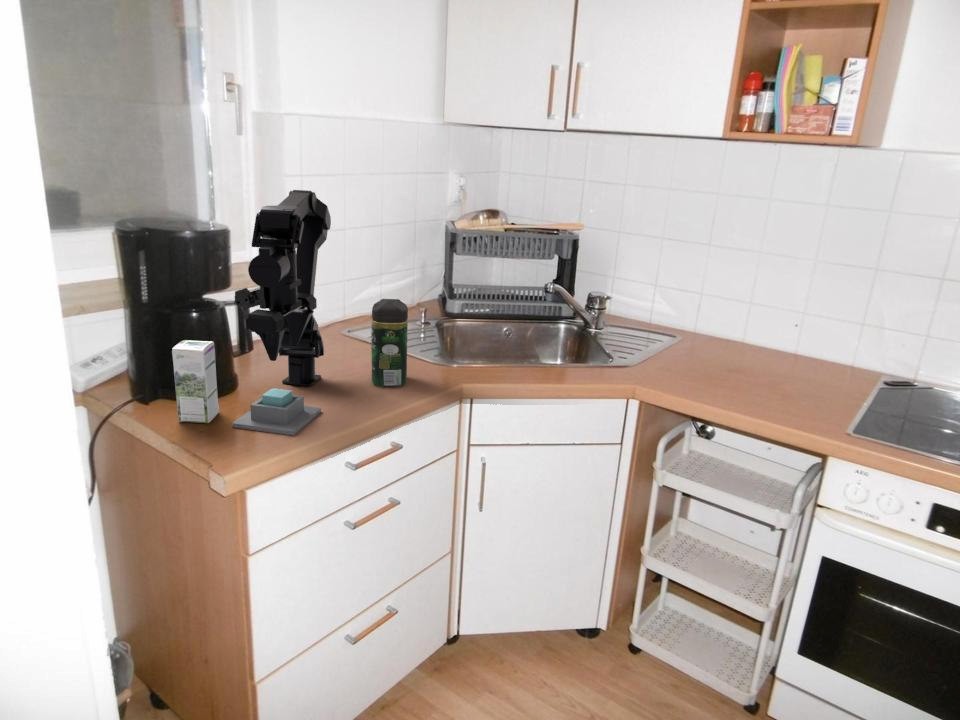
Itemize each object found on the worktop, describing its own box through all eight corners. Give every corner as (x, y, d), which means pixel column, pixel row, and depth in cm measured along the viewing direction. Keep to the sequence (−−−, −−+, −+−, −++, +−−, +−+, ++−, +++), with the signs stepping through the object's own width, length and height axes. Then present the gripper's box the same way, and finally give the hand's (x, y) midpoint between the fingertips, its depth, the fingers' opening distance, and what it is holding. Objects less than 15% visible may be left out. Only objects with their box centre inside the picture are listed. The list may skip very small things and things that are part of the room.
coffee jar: (372, 374, 156) (372, 295, 150) (406, 375, 157) (408, 296, 151) (369, 389, 147) (370, 305, 141) (406, 389, 147) (408, 307, 142)
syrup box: (219, 412, 130) (215, 340, 125) (208, 424, 124) (203, 349, 120) (189, 410, 130) (184, 338, 125) (177, 423, 124) (170, 347, 120)
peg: (292, 412, 130) (291, 390, 128) (282, 420, 126) (282, 397, 125) (273, 409, 130) (272, 388, 129) (263, 417, 127) (262, 395, 125)
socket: (264, 404, 135) (263, 386, 134) (321, 411, 133) (320, 393, 132) (232, 427, 124) (231, 407, 123) (293, 435, 122) (293, 416, 121)
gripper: (265, 262, 137) (268, 335, 143) (214, 281, 120) (220, 363, 125) (316, 267, 136) (318, 341, 141) (272, 287, 118) (276, 370, 123)
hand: (284, 353), depth 133 cm, fingers open, 9 cm apart
